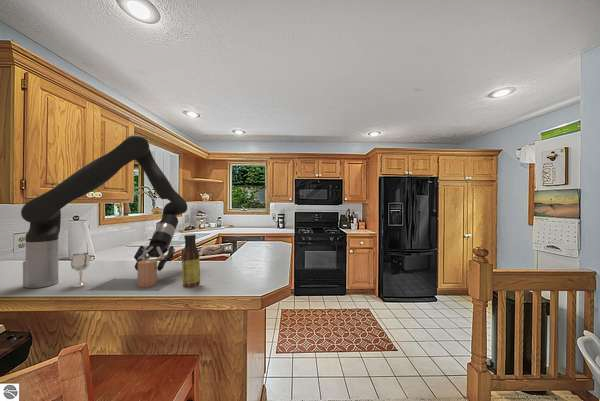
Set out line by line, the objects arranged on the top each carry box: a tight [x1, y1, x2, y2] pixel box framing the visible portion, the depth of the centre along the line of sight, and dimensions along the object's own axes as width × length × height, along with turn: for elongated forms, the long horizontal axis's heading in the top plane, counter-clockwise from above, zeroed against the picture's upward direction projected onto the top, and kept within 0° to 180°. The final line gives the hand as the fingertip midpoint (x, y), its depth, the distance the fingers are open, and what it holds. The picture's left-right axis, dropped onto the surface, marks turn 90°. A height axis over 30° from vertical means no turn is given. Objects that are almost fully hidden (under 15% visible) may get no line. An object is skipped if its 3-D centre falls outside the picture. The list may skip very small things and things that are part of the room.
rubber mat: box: [87, 278, 177, 292], centre depth 104 cm, size 26×14×1 cm, turn 89°
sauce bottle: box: [181, 233, 201, 288], centre depth 103 cm, size 7×6×20 cm
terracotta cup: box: [137, 258, 158, 287], centre depth 104 cm, size 6×6×9 cm
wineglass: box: [70, 252, 91, 288], centre depth 104 cm, size 6×6×12 cm
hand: (147, 269), depth 104 cm, fingers open, 8 cm apart
